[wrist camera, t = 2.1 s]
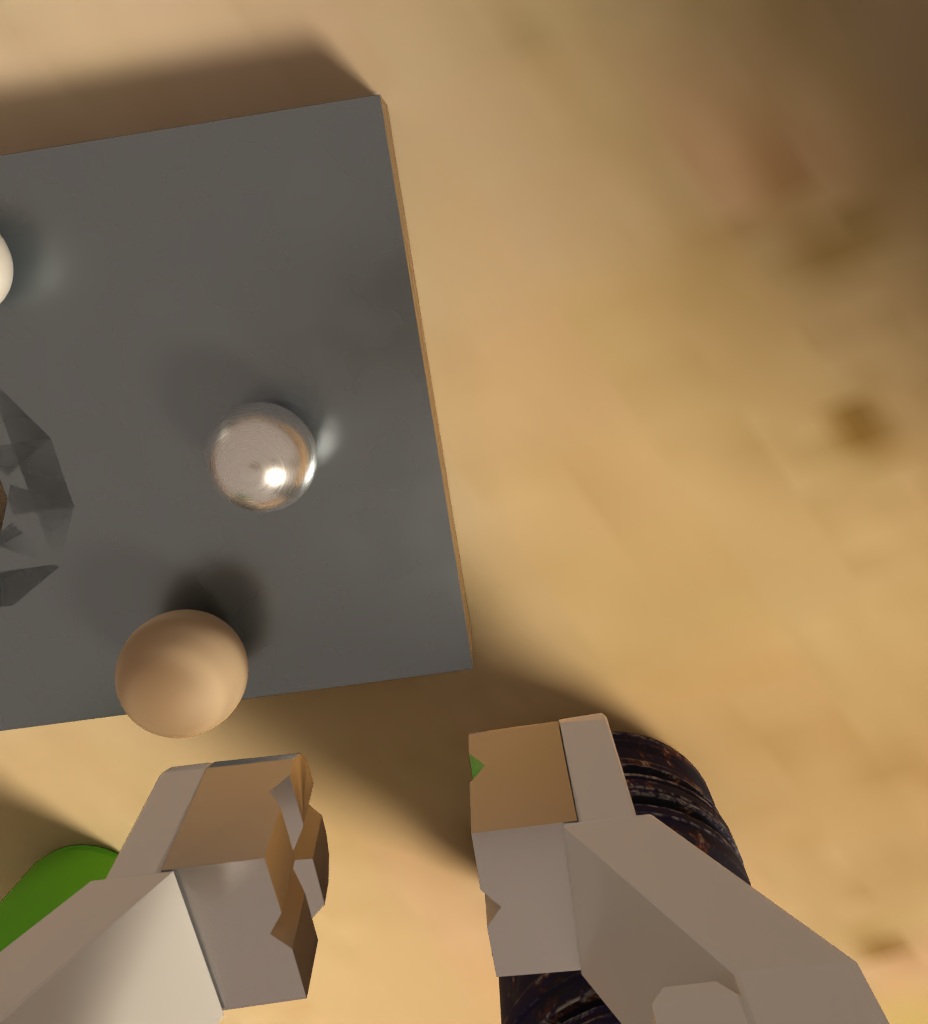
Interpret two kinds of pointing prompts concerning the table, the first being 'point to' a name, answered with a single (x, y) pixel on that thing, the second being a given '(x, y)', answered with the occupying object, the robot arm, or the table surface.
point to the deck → (217, 409)
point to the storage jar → (654, 790)
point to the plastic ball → (5, 269)
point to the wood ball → (181, 673)
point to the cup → (50, 887)
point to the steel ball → (260, 457)
